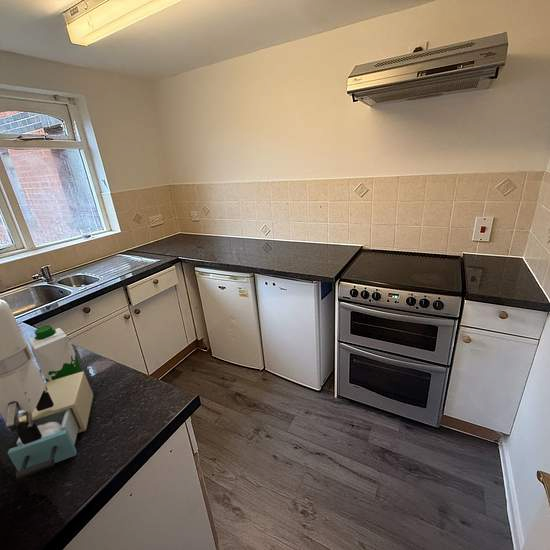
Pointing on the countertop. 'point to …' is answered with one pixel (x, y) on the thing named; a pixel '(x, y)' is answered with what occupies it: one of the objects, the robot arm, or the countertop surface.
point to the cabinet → (68, 398)
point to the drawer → (46, 445)
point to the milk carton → (54, 353)
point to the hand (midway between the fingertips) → (40, 423)
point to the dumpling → (49, 428)
